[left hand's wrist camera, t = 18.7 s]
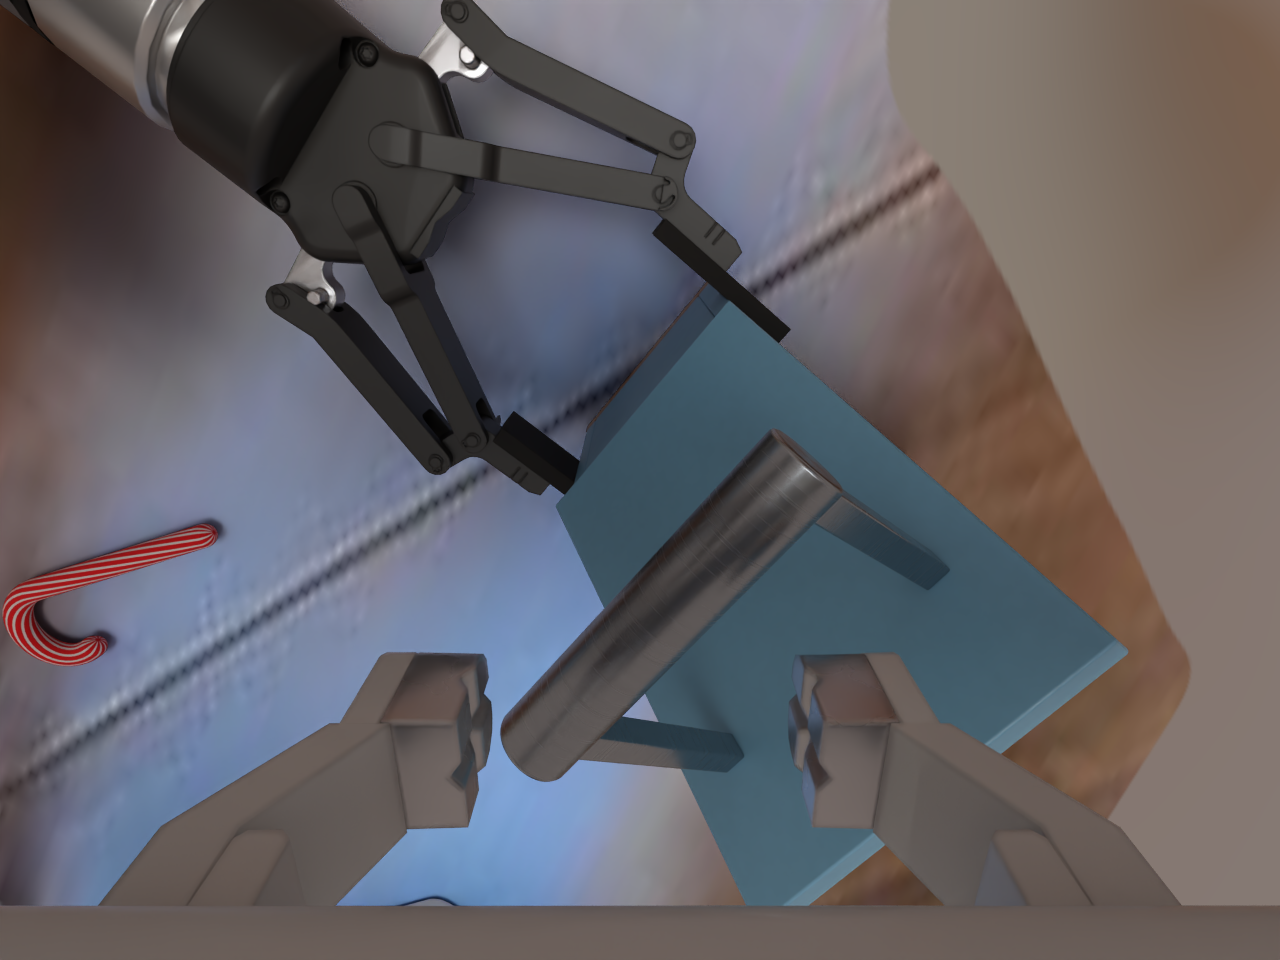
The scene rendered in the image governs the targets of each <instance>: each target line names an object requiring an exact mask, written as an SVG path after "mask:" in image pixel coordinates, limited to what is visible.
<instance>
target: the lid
mask: <svg viewBox="0 0 1280 960" xmlns="http://www.w3.org/2000/svg"><path fill="white" fill-rule="evenodd" d="M556 508H557V510H558V512H559V514H560V516H561V519H562V521H563V523H564V525H565V527H566V529H567V531H568V533H569V535H570V537H571V539H572V542H573V544H574V546H575V548H576V550H577V552H578V554H579V556H580V558H581V560H582V562H583V565H584V567H585V569H586V571H587V573H588V575H589V577H590V579H591V581H592V583H593V585H594V588H595V590H596V592H597V594H598V596H599V598H600V600H601V602H602V604H603V606H604V609H603V611H602V612H601V613H600V614H599V615H598V616H597V617H596V618H595V619H594V620H593V621H592V622H591V624H590V625H589V626H588V627H587V628H586V629H585V630H584V631H583V632H582V633H581V634H580V635H579V637H578V638H577V639H576V640H575V641H574V642H573V643H572V644H571V645H570V646H569V647H568V648H567V650H566V651H565V652H564V653H563V654H562V655H561V656H560V657H559V658H558V659H557V660H556V661H555V663H554V664H553V665H552V666H551V667H550V668H549V669H548V670H547V671H546V672H545V673H544V675H543V676H542V677H541V678H540V679H539V680H538V681H537V682H536V683H535V684H534V685H533V686H532V688H531V689H530V690H529V691H528V692H527V693H526V694H525V695H524V696H523V697H522V698H521V699H520V701H519V702H518V703H517V704H516V705H515V706H514V707H513V708H512V709H511V710H510V711H509V712H508V714H507V715H506V716H505V717H504V719H503V721H502V724H501V729H500V735H501V741H502V745H503V747H504V750H505V752H506V754H507V755H508V757H509V758H510V760H511V761H512V762H513V764H514V765H515V766H516V767H517V768H518V769H519V770H520V771H522V772H523V773H524V774H526V775H527V776H529V777H531V778H533V779H535V780H538V781H543V782H550V781H554V780H557V779H559V778H561V777H562V776H563V775H564V774H565V773H566V772H567V771H568V770H569V769H570V768H571V767H572V766H573V765H574V764H575V763H576V762H577V761H578V760H589V761H600V762H612V763H623V764H634V765H646V766H657V767H668V768H679V769H681V770H682V772H683V774H684V776H685V778H686V780H687V782H688V784H689V786H690V788H691V791H692V793H693V795H694V797H695V799H696V801H697V803H698V805H699V807H700V809H701V811H702V814H703V816H704V818H705V820H706V822H707V824H708V826H709V828H710V830H711V832H712V834H713V837H714V839H715V841H716V843H717V845H718V847H719V849H720V851H721V853H722V855H723V857H724V860H725V862H726V864H727V866H728V868H729V870H730V872H731V874H732V876H733V878H734V880H735V883H736V885H737V887H738V889H739V891H740V893H741V895H742V897H743V899H744V901H745V903H746V906H808V905H809V904H811V903H812V902H813V901H815V900H816V899H817V898H818V897H820V896H821V895H822V894H823V893H825V892H826V891H827V890H828V889H830V888H831V887H832V886H834V885H835V884H836V883H837V882H839V881H840V880H841V879H842V878H844V877H845V876H846V875H848V874H849V873H850V872H851V871H853V870H854V869H855V868H856V867H858V866H859V865H860V864H861V863H863V862H864V861H865V860H867V859H868V858H869V857H870V856H872V855H873V854H874V853H875V852H877V851H878V850H879V849H881V848H882V847H883V846H884V845H885V844H884V843H883V842H882V841H881V840H880V839H879V838H878V837H877V836H876V835H875V834H874V833H873V829H852V828H817V827H812V825H811V822H810V818H809V815H808V811H807V808H806V805H805V801H804V798H803V794H802V791H801V786H802V776H803V773H802V772H801V771H800V770H799V769H798V768H796V767H795V766H794V762H793V759H792V755H791V750H790V744H789V739H788V708H789V701H790V700H791V699H792V698H793V697H794V696H795V695H796V691H795V688H794V684H793V681H792V678H791V675H792V666H793V661H794V657H795V655H806V654H861V653H876V652H895V653H896V654H898V655H899V656H900V658H901V659H902V661H903V663H904V664H905V666H906V667H907V669H908V671H909V672H910V674H911V676H912V677H913V679H914V681H915V682H916V684H917V686H918V687H919V689H920V691H921V692H922V694H923V696H924V697H925V699H926V700H927V702H928V704H929V705H930V707H931V709H932V710H933V712H934V714H935V715H936V717H937V719H938V720H939V722H940V723H951V724H952V725H954V726H956V727H957V728H959V729H960V730H962V731H964V732H965V733H967V734H969V735H970V736H972V737H973V738H975V739H977V740H978V741H980V742H982V743H983V744H985V745H987V746H988V747H990V748H991V749H993V750H995V751H996V752H998V753H1000V754H1001V753H1002V752H1004V751H1005V750H1006V749H1007V748H1009V747H1010V746H1011V745H1013V744H1014V743H1015V742H1016V741H1018V740H1019V739H1020V738H1021V737H1023V736H1024V735H1025V734H1027V733H1028V732H1029V731H1030V730H1032V729H1033V728H1034V727H1035V726H1037V725H1038V724H1039V723H1040V722H1042V721H1043V720H1044V719H1046V718H1047V717H1048V716H1049V715H1051V714H1052V713H1053V712H1054V711H1056V710H1057V709H1058V708H1060V707H1061V706H1062V705H1063V704H1065V703H1066V702H1067V701H1068V700H1070V699H1071V698H1072V697H1074V696H1075V695H1076V694H1077V693H1079V692H1080V691H1081V690H1082V689H1084V688H1085V687H1086V686H1087V685H1089V684H1090V683H1091V682H1093V681H1094V680H1095V679H1096V678H1098V677H1099V676H1100V675H1101V674H1103V673H1104V672H1105V671H1107V670H1108V669H1109V668H1110V667H1112V666H1113V665H1114V664H1115V663H1117V662H1118V661H1119V660H1120V659H1122V658H1123V657H1124V656H1126V655H1127V653H1128V650H1127V648H1126V647H1125V646H1124V645H1122V644H1121V643H1120V642H1119V641H1118V640H1117V639H1116V638H1114V637H1113V636H1112V635H1111V634H1110V633H1109V632H1108V631H1106V630H1105V629H1104V628H1103V627H1102V626H1101V625H1100V624H1098V623H1097V622H1096V621H1095V620H1094V619H1093V618H1092V617H1090V616H1089V615H1088V614H1087V613H1086V612H1085V611H1084V610H1082V609H1081V608H1080V607H1079V606H1078V605H1077V604H1076V603H1074V602H1073V601H1072V600H1071V599H1070V598H1069V597H1068V596H1067V595H1065V594H1064V593H1063V592H1062V591H1061V590H1060V589H1059V588H1057V587H1056V586H1055V585H1054V584H1053V583H1052V582H1051V581H1049V580H1048V579H1047V578H1046V577H1045V576H1044V575H1043V574H1041V573H1040V572H1039V571H1038V570H1037V569H1036V568H1035V567H1033V566H1032V565H1031V564H1030V563H1029V562H1028V561H1027V560H1025V559H1024V558H1023V557H1022V556H1021V555H1020V554H1019V553H1017V552H1016V551H1015V550H1014V549H1013V548H1012V547H1011V546H1009V545H1008V544H1007V543H1006V542H1005V541H1004V540H1003V539H1001V538H1000V537H999V536H998V535H997V534H996V533H995V532H993V531H992V530H991V529H990V528H989V527H988V526H987V525H985V524H984V523H983V522H982V521H981V520H980V519H979V518H977V517H976V516H975V515H974V514H973V513H972V512H971V511H969V510H968V509H967V508H966V507H965V506H964V505H963V504H961V503H960V502H959V501H958V500H957V499H956V498H955V497H953V496H952V495H951V494H950V493H949V492H948V491H947V490H945V489H944V488H943V487H942V486H941V485H940V484H939V483H937V482H936V481H935V480H934V479H933V478H932V477H931V476H929V475H928V474H927V473H926V472H925V471H924V470H923V469H921V468H920V467H919V466H918V465H917V464H916V463H915V462H913V461H912V460H911V459H910V458H909V457H908V456H907V455H905V454H904V453H903V452H902V451H901V450H900V449H899V448H897V447H896V446H895V445H894V444H893V443H892V442H891V441H889V440H888V439H887V438H886V437H885V436H884V435H883V434H881V433H880V432H879V431H878V430H877V429H876V428H875V427H873V426H872V425H871V424H870V423H869V422H868V421H867V420H866V419H864V418H863V417H862V416H861V415H860V414H859V413H858V412H856V411H855V410H854V409H853V408H852V407H851V406H850V405H848V404H847V403H846V402H845V401H844V400H843V399H842V398H840V397H839V396H838V395H837V394H836V393H835V392H834V391H832V390H831V389H830V388H829V387H828V386H827V385H826V384H824V383H823V382H822V381H821V380H820V379H819V378H818V377H816V376H815V375H814V374H813V373H812V372H811V371H810V370H808V369H807V368H806V367H805V366H804V365H803V364H802V363H800V362H799V361H798V360H797V359H796V358H795V357H794V356H792V355H791V354H790V353H789V352H788V351H787V350H786V349H784V348H783V347H782V346H781V345H780V344H779V343H778V342H776V341H775V340H774V339H773V338H772V337H771V336H770V335H768V334H767V333H766V332H765V331H764V330H763V329H762V328H760V327H759V326H758V325H757V324H756V323H755V322H754V321H752V320H751V319H750V318H749V317H748V316H747V315H746V314H744V313H743V312H742V311H741V310H740V309H739V308H738V307H736V306H735V305H734V304H733V303H732V302H730V301H728V302H727V303H726V304H725V305H724V307H723V308H722V309H721V310H720V311H719V313H718V314H717V315H716V316H715V317H714V318H713V320H712V321H711V322H710V323H709V324H708V326H707V327H706V328H705V329H704V330H703V332H702V333H701V334H700V335H699V336H698V337H697V339H696V340H695V341H694V342H693V343H692V345H691V346H690V347H689V348H688V349H687V350H686V352H685V353H684V354H683V355H682V356H681V358H680V359H679V360H678V361H677V362H676V364H675V365H674V366H673V367H672V368H671V369H670V371H669V372H668V373H667V374H666V375H665V377H664V378H663V379H662V380H661V381H660V383H659V384H658V385H657V386H656V387H655V388H654V390H653V391H652V392H651V393H650V394H649V396H648V397H647V398H646V399H645V400H644V402H643V403H642V404H641V405H640V406H639V407H638V409H637V410H636V411H635V412H634V413H633V415H632V416H631V417H630V418H629V419H628V421H627V422H626V423H625V424H624V425H623V426H622V428H621V429H620V430H619V431H618V432H617V434H616V435H615V436H614V437H613V438H612V440H611V441H610V442H609V443H608V444H607V445H606V447H605V448H604V449H603V450H602V451H601V453H600V454H599V455H598V456H597V457H596V459H595V460H594V461H593V462H592V463H591V464H590V466H589V467H588V468H587V469H586V470H585V472H584V473H583V474H582V475H581V476H580V478H579V479H578V480H577V481H576V482H575V483H574V485H573V486H572V487H571V488H570V489H569V491H568V492H567V493H566V494H565V495H564V497H563V498H562V499H561V500H560V501H559V502H558V504H557V505H556ZM644 694H646V696H647V698H648V701H649V703H650V705H651V707H652V709H653V711H654V713H655V715H656V717H657V719H658V721H659V722H654V721H647V720H641V719H634V718H628V717H622V716H623V715H624V714H625V713H626V712H627V711H628V710H629V709H630V708H631V707H632V706H633V705H634V704H635V703H636V702H637V701H638V700H639V699H640V698H641V697H642V696H643V695H644Z"/></svg>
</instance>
